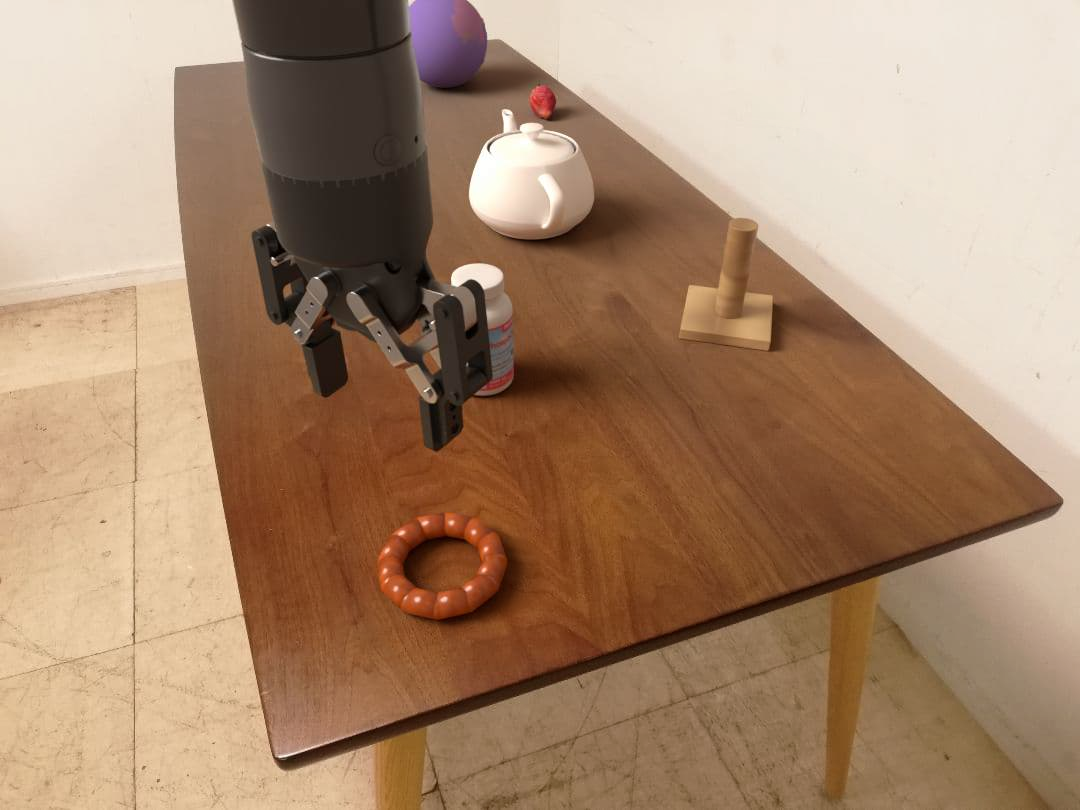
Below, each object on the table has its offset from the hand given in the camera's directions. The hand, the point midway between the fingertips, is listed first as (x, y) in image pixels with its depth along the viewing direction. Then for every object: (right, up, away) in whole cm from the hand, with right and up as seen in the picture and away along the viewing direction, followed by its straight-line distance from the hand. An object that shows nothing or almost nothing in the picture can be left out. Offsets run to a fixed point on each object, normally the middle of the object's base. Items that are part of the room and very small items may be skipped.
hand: (384, 414), depth 47 cm
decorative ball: (-7, +57, +97) cm, 112 cm away
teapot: (+8, +24, +57) cm, 63 cm away
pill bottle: (+4, +3, +31) cm, 31 cm away
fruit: (+10, +47, +86) cm, 98 cm away
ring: (+2, -11, +12) cm, 17 cm away
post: (+29, +9, +39) cm, 49 cm away
